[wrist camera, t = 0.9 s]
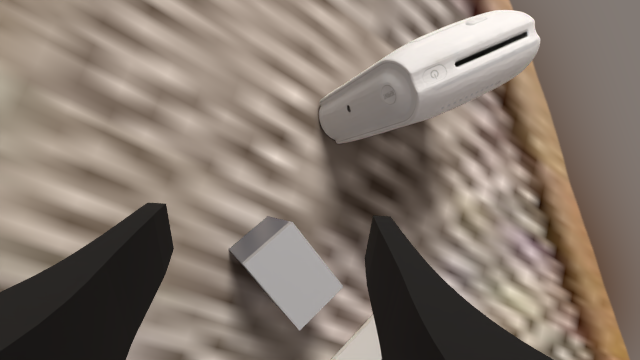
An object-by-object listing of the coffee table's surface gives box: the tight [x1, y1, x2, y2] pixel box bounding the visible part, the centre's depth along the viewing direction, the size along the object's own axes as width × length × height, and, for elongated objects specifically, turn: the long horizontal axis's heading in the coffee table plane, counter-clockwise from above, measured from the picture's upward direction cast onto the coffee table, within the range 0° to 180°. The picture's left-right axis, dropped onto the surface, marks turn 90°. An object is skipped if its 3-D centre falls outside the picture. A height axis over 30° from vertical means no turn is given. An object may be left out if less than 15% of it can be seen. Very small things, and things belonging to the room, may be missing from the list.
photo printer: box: [319, 10, 540, 144], centre depth 24 cm, size 10×4×12 cm, turn 116°
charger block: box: [229, 216, 343, 331], centre depth 23 cm, size 4×5×6 cm
